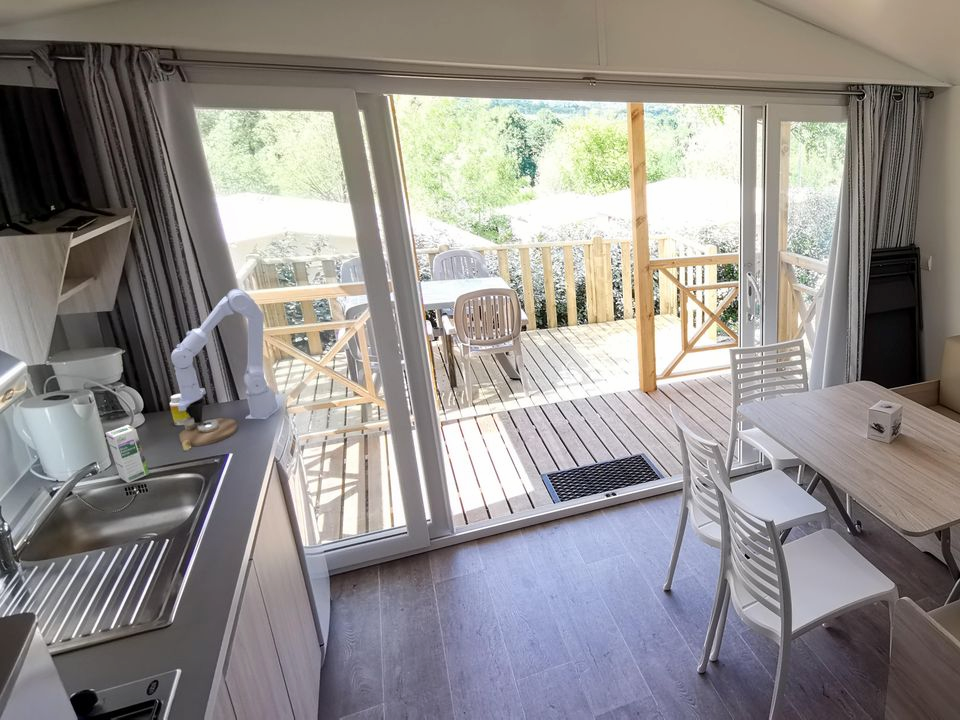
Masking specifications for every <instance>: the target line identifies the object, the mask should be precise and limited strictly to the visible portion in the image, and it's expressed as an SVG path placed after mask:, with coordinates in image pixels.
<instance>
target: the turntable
mask: <svg viewBox="0 0 960 720" xmlns="http://www.w3.org/2000/svg"><path fill="white" fill-rule="evenodd" d="M207 420H208V419H207ZM207 420H202V421H201V422H204V421H207ZM209 420H217V421H218V425H219V428H218V429H217V430H215V431H213V432H210V433H199V430H198V424H199V423H195V422H194V418H193V417H188V418H185V419H184V420H183V421H184V425H183V426H184V429H183V430H181V431H180V433H179V435H178V438H179V441H180V443H181V444H182V442H184V441H185V440H190V443H191V447H202V446H208V445H211V444H215V443H219V442H221V441H224V440H226V439H228V438H230V437H231V436H233V435H234V434H235V433H236V432H237V431H238V424H237V421H236V420H235V419H233V418H227V417H224V418H223V417H219V418H211V419H209ZM201 422H200V423H201Z"/></svg>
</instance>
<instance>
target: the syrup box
mask: <svg viewBox="0 0 960 720" xmlns="http://www.w3.org/2000/svg"><path fill="white" fill-rule="evenodd" d="M138 435H139V434H138V432H137V428H135V427H133V426H131V425H129V424H126V425H124V426H121V427H119V428H115V429H113V430H110V431H106V432H105V436H106V439H107V442H108V446H109V449H110V452H111V454H112V457H113V460H114V463H115V466H116V469H117V473H118V475H119V478H120V479H122V480H123V481H124V482H126V483H127V484H129V483H132V482H134V481H136V480H139V479H142V478H143V477H145V476H148V475H150V472H149V468H148V467H149V466H148V464H147V461H146V458H145V455H144V451H143V448H142V445H141V442H140V439H139V436H138Z"/></svg>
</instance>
